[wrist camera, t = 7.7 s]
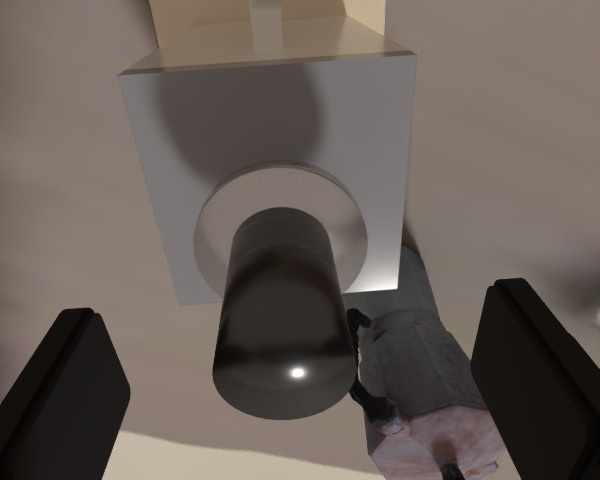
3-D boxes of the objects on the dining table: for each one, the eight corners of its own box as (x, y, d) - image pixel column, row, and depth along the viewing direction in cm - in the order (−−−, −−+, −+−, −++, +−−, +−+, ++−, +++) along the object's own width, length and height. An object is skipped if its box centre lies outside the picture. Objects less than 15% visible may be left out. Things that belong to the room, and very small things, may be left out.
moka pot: (394, 339, 46) (465, 552, 29) (281, 271, 40) (287, 487, 23) (462, 283, 42) (588, 490, 25) (349, 199, 37) (413, 394, 20)
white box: (383, -71, 27) (521, -126, 12) (372, 200, 37) (439, 353, 22) (143, -56, 26) (-23, -92, 12) (199, 213, 37) (148, 376, 22)
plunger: (331, 38, 27) (484, 212, 7) (333, 152, 31) (434, 458, 12) (212, 47, 27) (50, 245, 7) (229, 159, 31) (154, 481, 11)
